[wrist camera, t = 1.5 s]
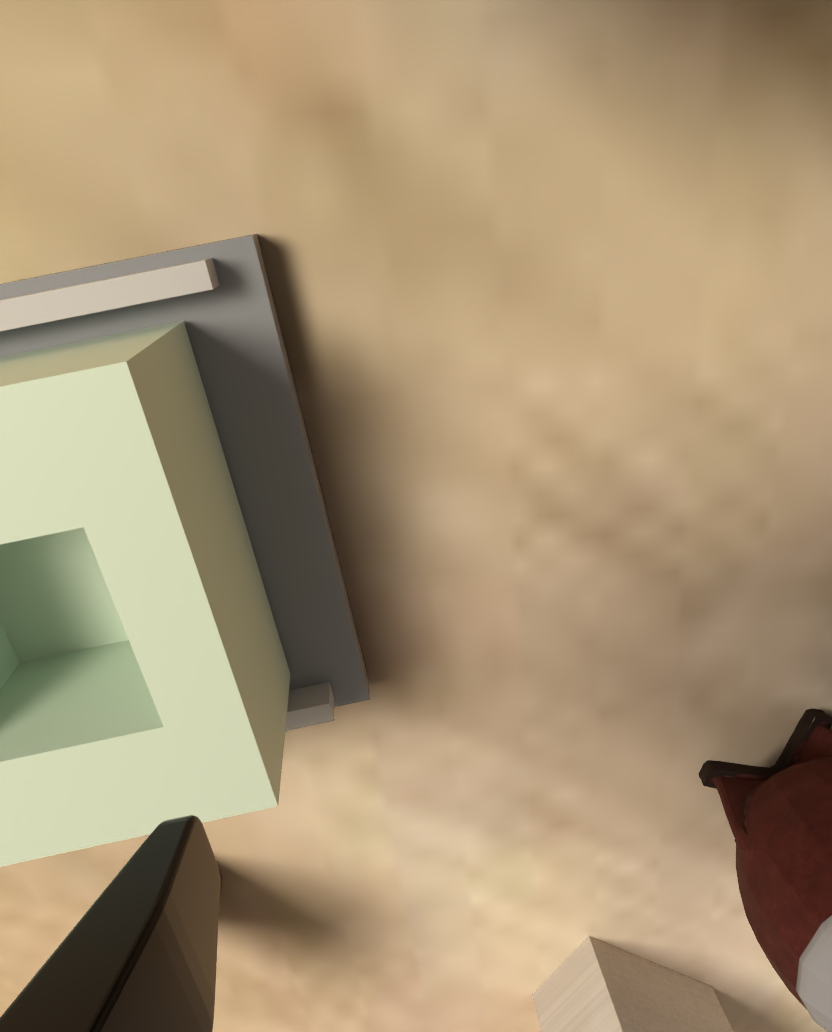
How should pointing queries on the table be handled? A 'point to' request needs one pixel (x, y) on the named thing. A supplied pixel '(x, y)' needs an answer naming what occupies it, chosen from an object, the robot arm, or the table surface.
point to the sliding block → (126, 603)
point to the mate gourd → (787, 857)
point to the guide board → (228, 430)
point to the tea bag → (624, 996)
